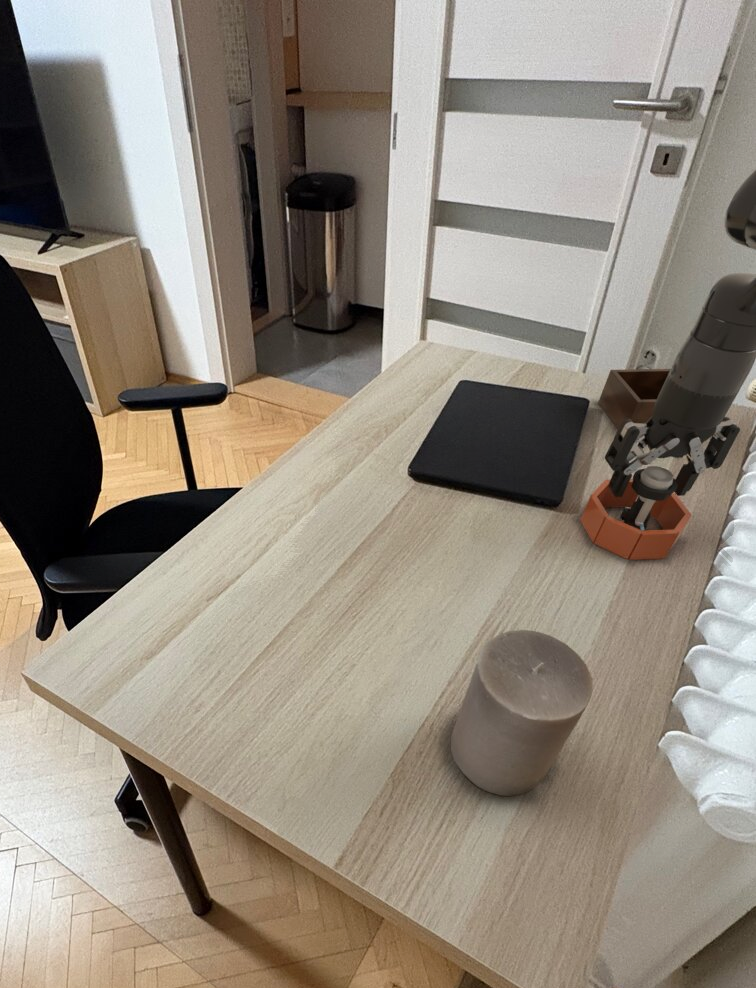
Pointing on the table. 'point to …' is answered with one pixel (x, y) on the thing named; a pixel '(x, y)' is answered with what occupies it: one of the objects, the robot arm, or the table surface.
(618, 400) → the box
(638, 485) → the push button
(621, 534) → the bowl
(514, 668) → the pillar candle
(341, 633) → the table surface
